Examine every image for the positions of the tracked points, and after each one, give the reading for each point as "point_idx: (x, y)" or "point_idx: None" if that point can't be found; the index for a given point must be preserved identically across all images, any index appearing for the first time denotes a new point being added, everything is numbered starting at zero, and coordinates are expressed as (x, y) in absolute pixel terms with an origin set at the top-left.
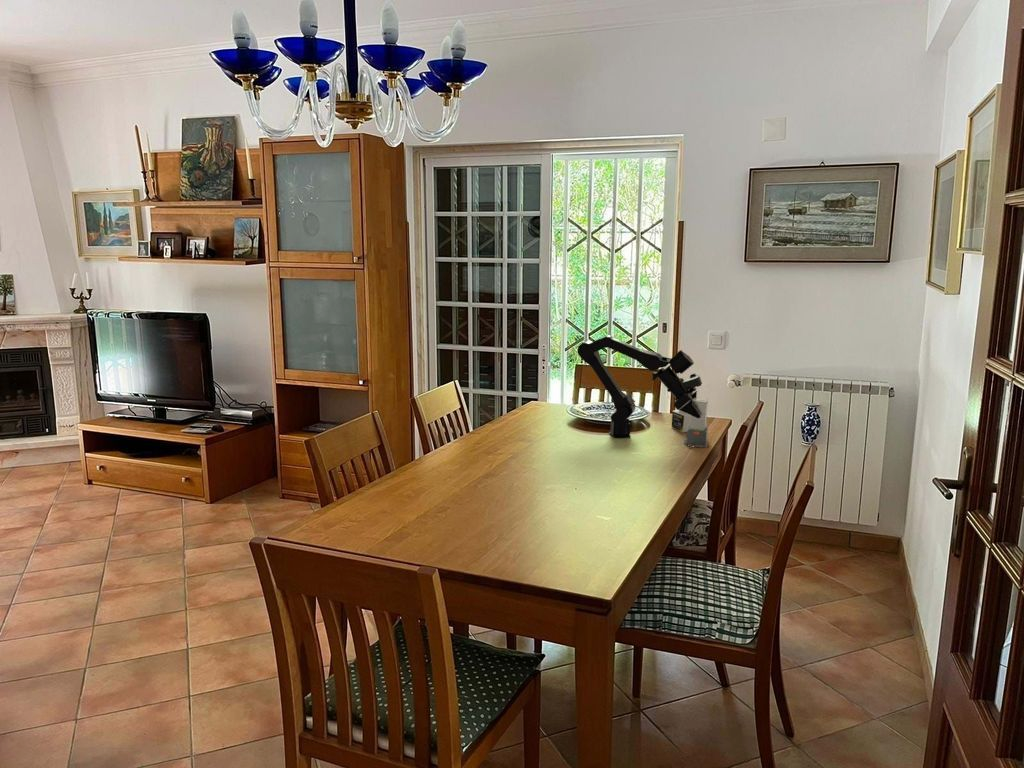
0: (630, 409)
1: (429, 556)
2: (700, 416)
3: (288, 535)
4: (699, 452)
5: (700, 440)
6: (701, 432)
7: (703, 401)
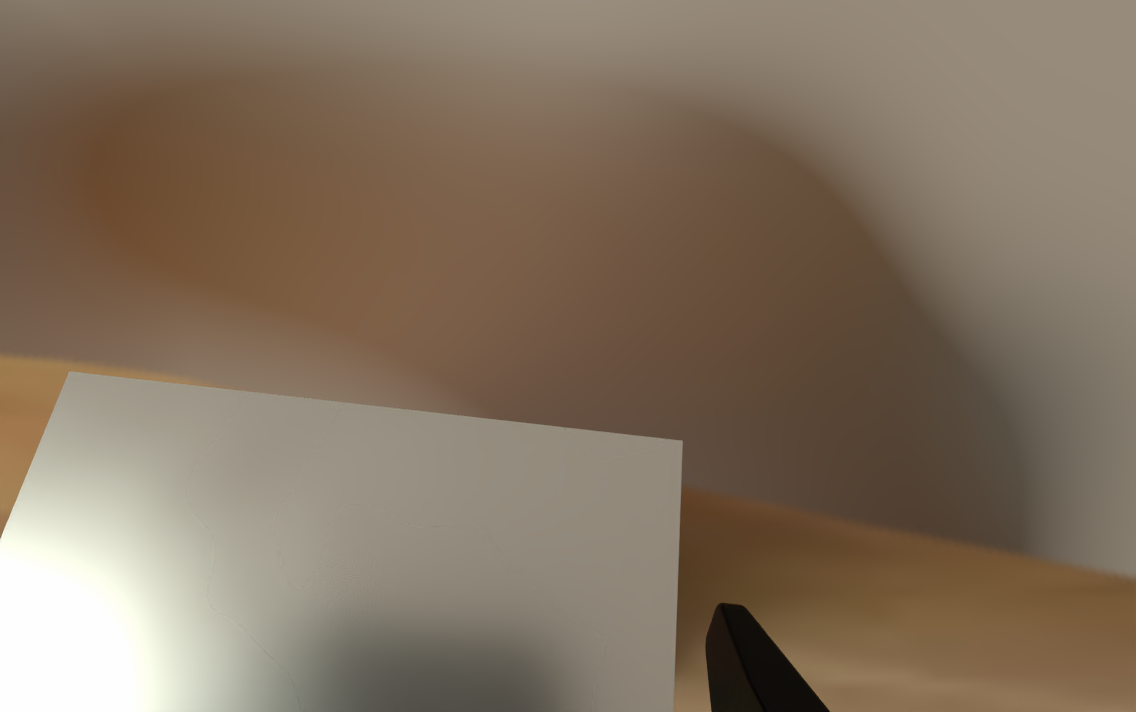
0: None
1: None
2: (744, 609)
3: None
4: (762, 560)
5: None
6: None
7: (609, 577)
